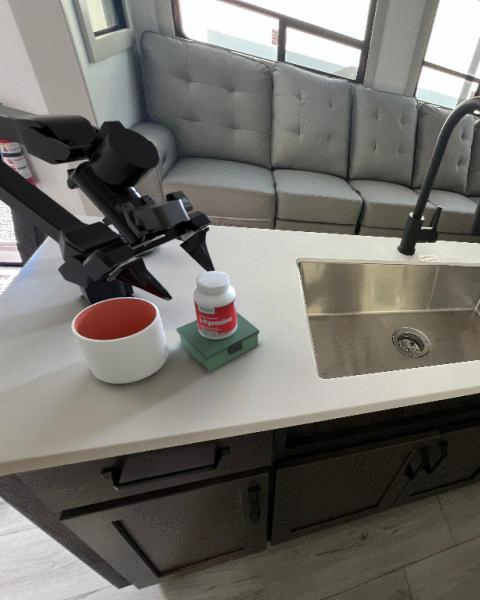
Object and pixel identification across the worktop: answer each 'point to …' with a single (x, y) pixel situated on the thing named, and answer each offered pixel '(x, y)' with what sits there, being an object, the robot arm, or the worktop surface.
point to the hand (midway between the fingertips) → (193, 285)
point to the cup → (121, 339)
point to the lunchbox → (218, 343)
